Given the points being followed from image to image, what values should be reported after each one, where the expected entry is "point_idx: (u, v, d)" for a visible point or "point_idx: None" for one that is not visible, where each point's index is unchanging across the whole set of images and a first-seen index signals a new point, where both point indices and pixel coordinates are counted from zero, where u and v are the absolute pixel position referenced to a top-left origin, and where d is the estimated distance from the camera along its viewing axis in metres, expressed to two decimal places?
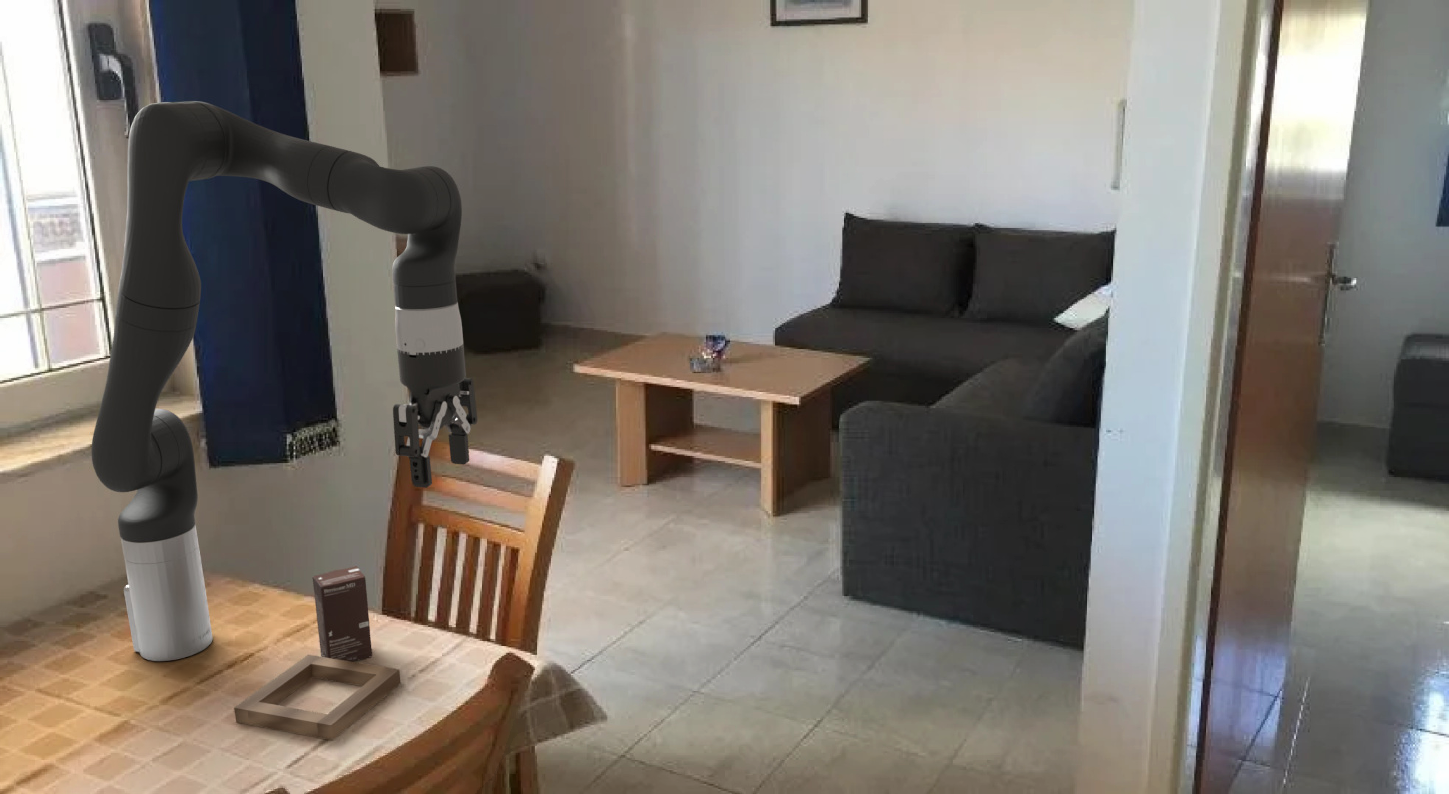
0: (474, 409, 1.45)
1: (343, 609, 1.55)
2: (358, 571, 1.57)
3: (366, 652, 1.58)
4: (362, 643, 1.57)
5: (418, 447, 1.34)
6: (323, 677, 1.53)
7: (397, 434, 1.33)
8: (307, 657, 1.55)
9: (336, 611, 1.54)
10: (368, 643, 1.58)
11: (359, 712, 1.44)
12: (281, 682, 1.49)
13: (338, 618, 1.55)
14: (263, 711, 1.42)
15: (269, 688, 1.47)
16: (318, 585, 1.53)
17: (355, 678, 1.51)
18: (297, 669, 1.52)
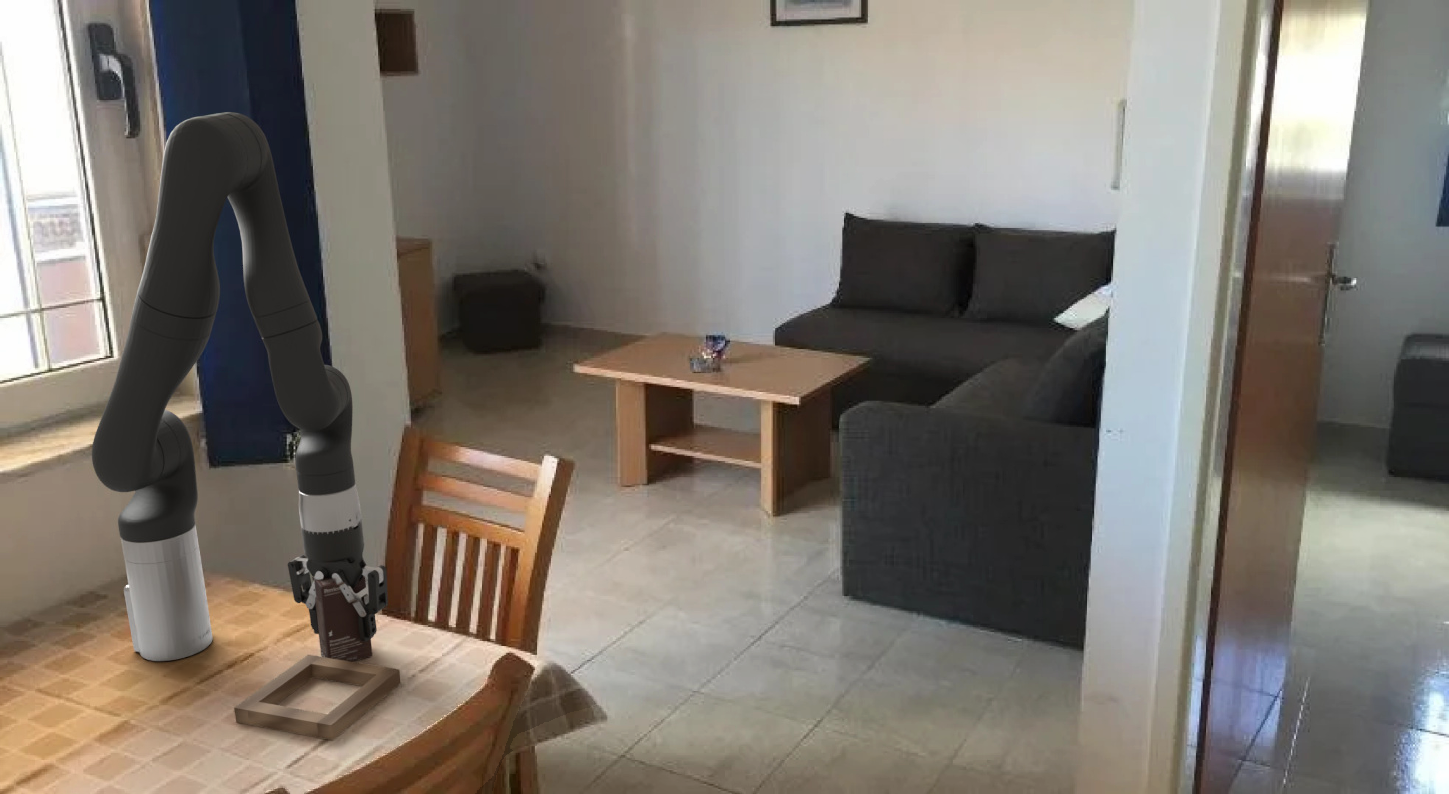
0: None
1: (343, 609, 1.55)
2: None
3: (366, 652, 1.58)
4: (362, 643, 1.57)
5: None
6: (323, 677, 1.53)
7: (378, 595, 1.53)
8: (307, 657, 1.55)
9: (336, 611, 1.54)
10: (368, 642, 1.58)
11: (359, 712, 1.44)
12: (281, 682, 1.49)
13: (338, 618, 1.55)
14: (263, 711, 1.42)
15: (269, 688, 1.47)
16: (318, 585, 1.53)
17: (355, 678, 1.51)
18: (297, 669, 1.52)
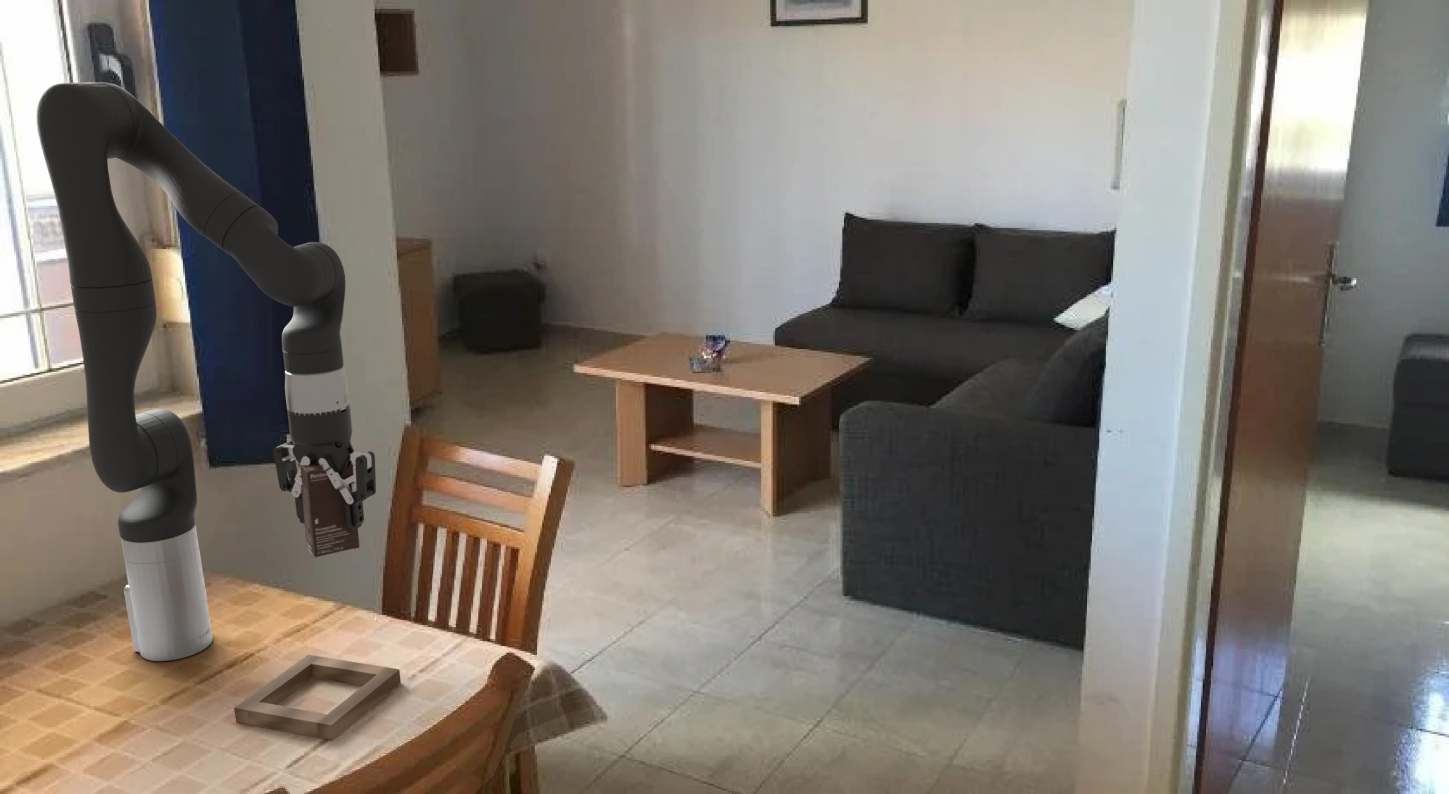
0: None
1: (329, 496, 1.51)
2: None
3: (353, 543, 1.54)
4: (349, 533, 1.53)
5: None
6: (323, 677, 1.53)
7: (366, 481, 1.49)
8: (307, 657, 1.55)
9: (322, 498, 1.50)
10: (355, 533, 1.54)
11: (359, 712, 1.44)
12: (281, 682, 1.49)
13: (324, 505, 1.51)
14: (263, 711, 1.42)
15: (269, 688, 1.47)
16: (304, 470, 1.49)
17: (355, 678, 1.51)
18: (297, 669, 1.52)
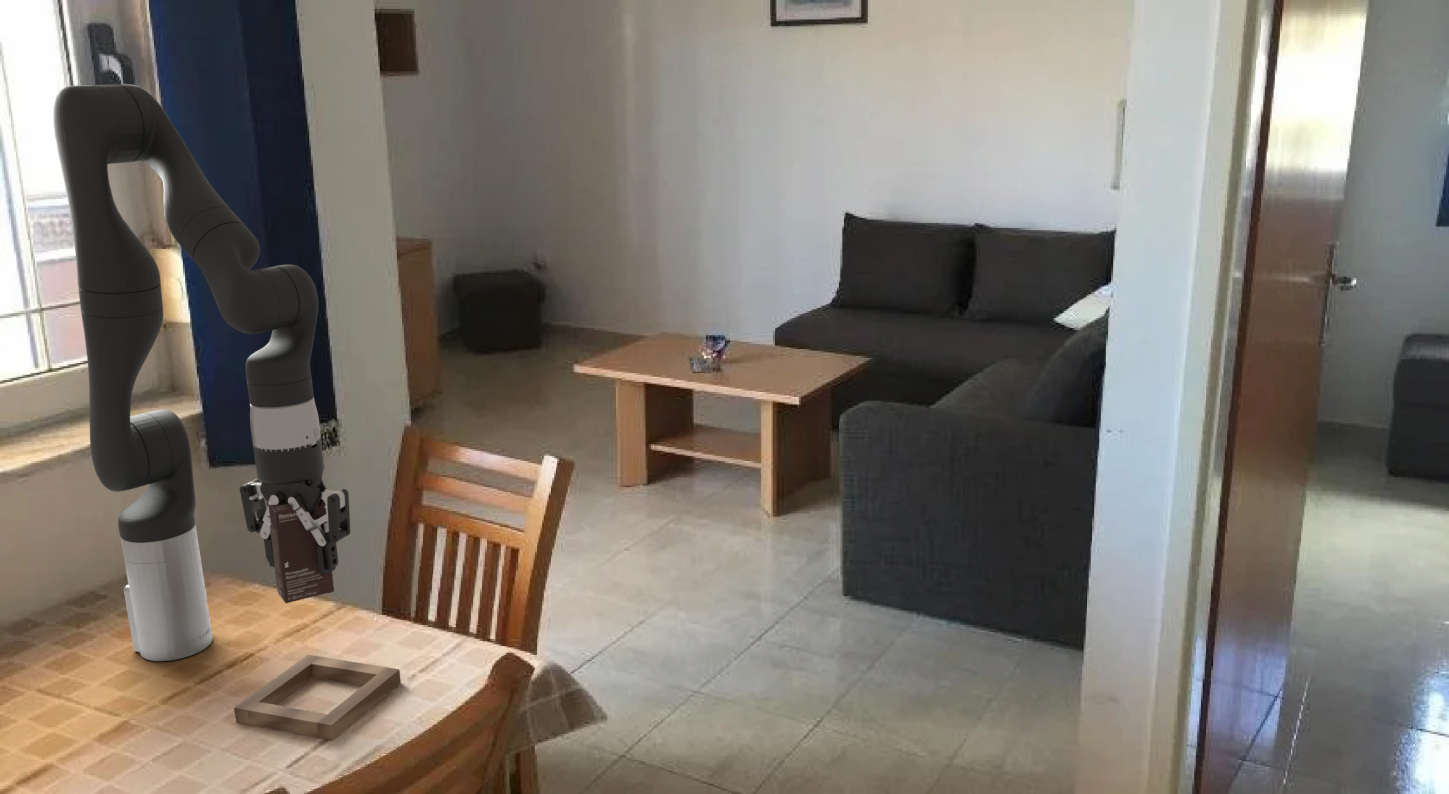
0: None
1: (300, 538, 1.40)
2: None
3: (327, 587, 1.43)
4: (323, 576, 1.42)
5: None
6: (323, 677, 1.53)
7: (339, 522, 1.38)
8: (307, 657, 1.55)
9: (292, 540, 1.39)
10: (329, 576, 1.43)
11: (359, 712, 1.44)
12: (281, 682, 1.49)
13: (295, 547, 1.40)
14: (263, 711, 1.42)
15: (269, 688, 1.47)
16: (272, 510, 1.38)
17: (355, 678, 1.51)
18: (297, 669, 1.52)
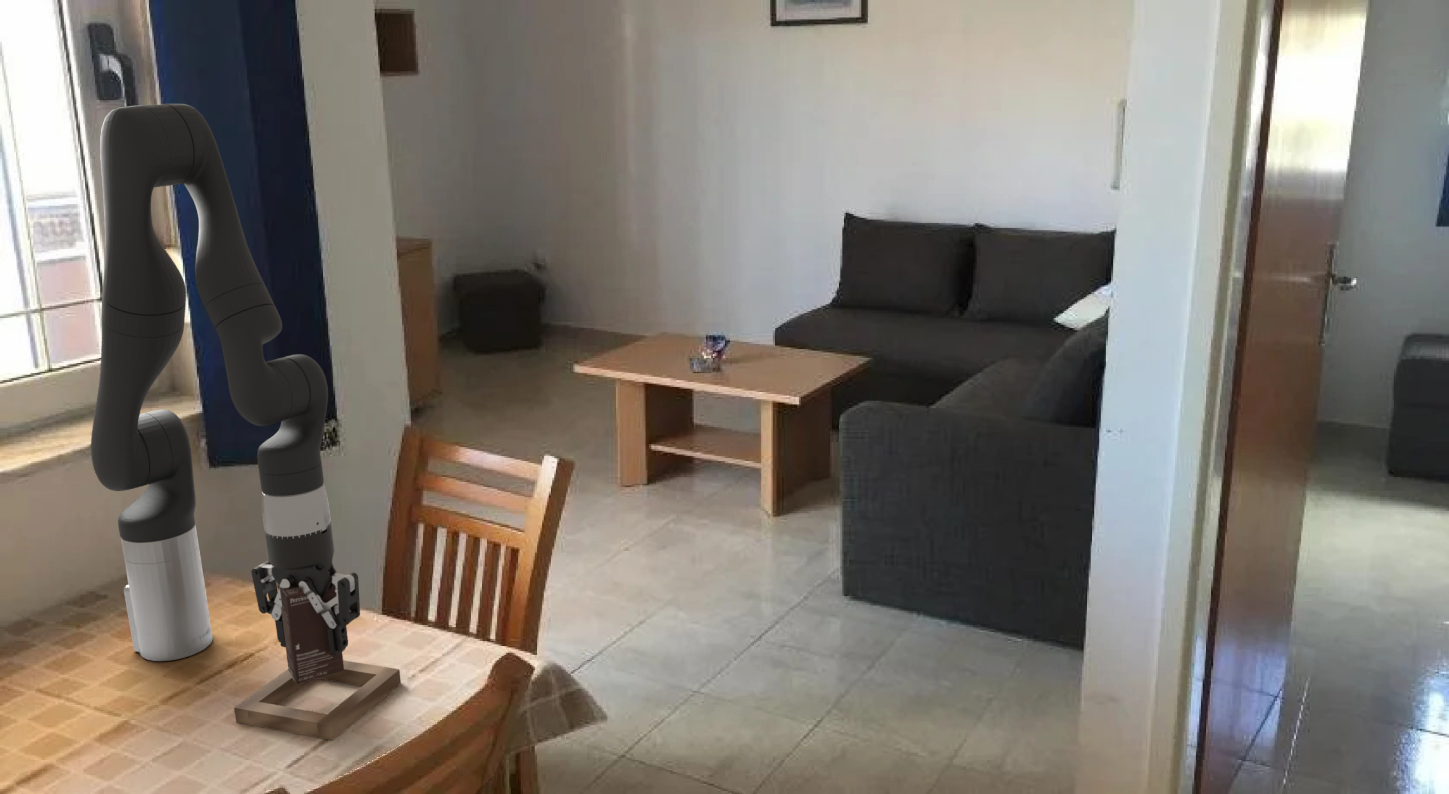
0: None
1: (311, 620, 1.42)
2: None
3: (337, 666, 1.46)
4: (333, 656, 1.45)
5: None
6: (323, 677, 1.53)
7: (349, 605, 1.41)
8: None
9: (303, 622, 1.42)
10: (340, 656, 1.45)
11: (359, 712, 1.44)
12: (281, 682, 1.49)
13: (306, 630, 1.42)
14: (263, 711, 1.42)
15: (269, 688, 1.47)
16: (284, 594, 1.41)
17: (355, 678, 1.51)
18: None
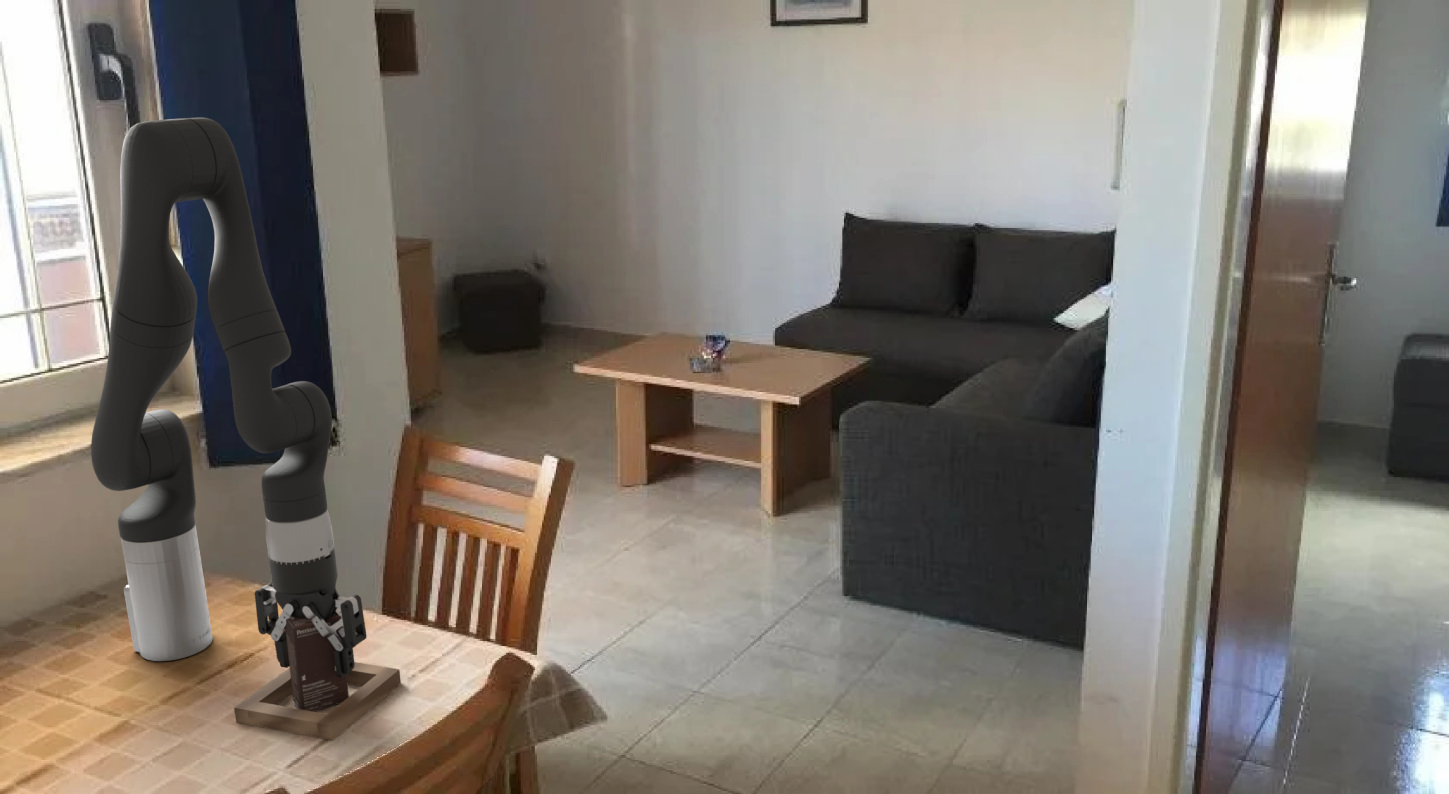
0: (273, 612, 1.48)
1: (317, 651, 1.43)
2: None
3: (342, 696, 1.47)
4: (338, 686, 1.46)
5: None
6: None
7: (354, 627, 1.41)
8: None
9: (309, 653, 1.43)
10: (345, 686, 1.47)
11: (359, 712, 1.44)
12: (281, 682, 1.49)
13: (312, 661, 1.43)
14: (263, 711, 1.42)
15: (269, 688, 1.47)
16: (290, 626, 1.42)
17: (355, 678, 1.51)
18: None
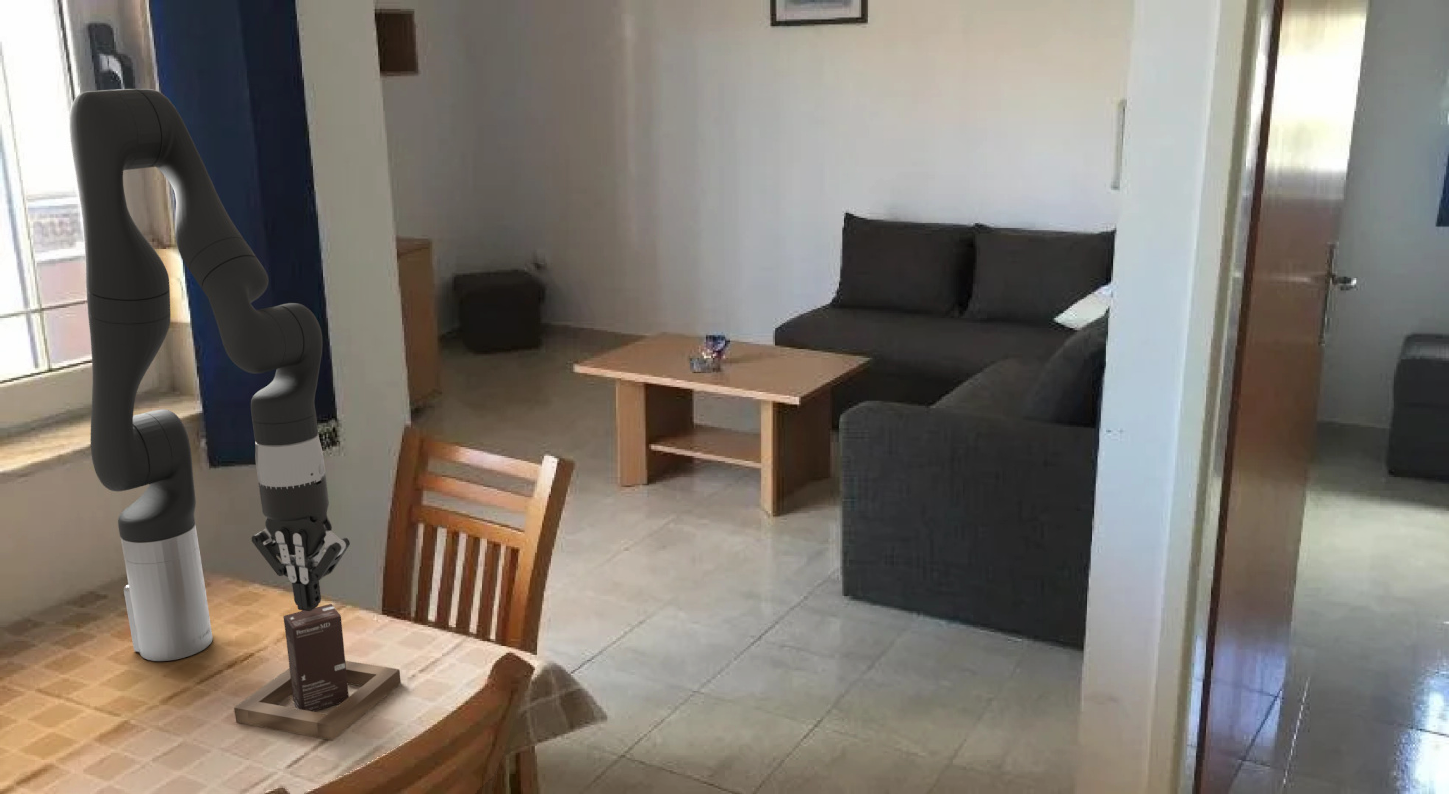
0: None
1: (317, 651, 1.43)
2: (333, 609, 1.46)
3: (342, 696, 1.47)
4: (338, 686, 1.46)
5: None
6: None
7: (328, 567, 1.40)
8: None
9: (309, 654, 1.43)
10: (344, 686, 1.47)
11: (359, 712, 1.44)
12: (281, 682, 1.49)
13: (312, 661, 1.43)
14: (263, 711, 1.42)
15: (269, 688, 1.47)
16: (290, 626, 1.42)
17: (355, 678, 1.51)
18: None
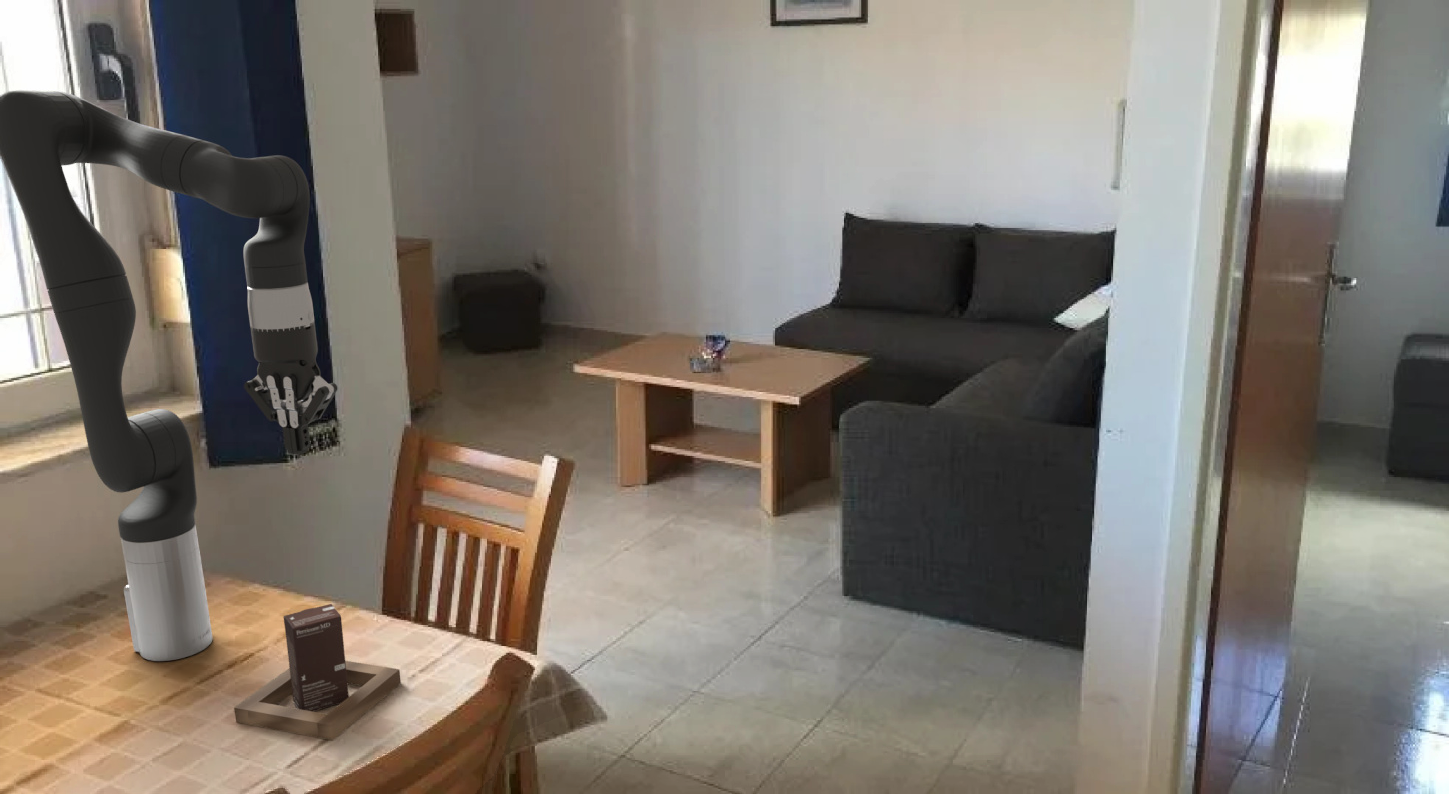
0: None
1: (317, 651, 1.43)
2: (333, 609, 1.46)
3: (342, 696, 1.47)
4: (338, 687, 1.46)
5: None
6: None
7: (317, 410, 1.47)
8: None
9: (309, 654, 1.43)
10: (345, 686, 1.47)
11: (359, 712, 1.44)
12: (281, 682, 1.49)
13: (312, 661, 1.43)
14: (263, 711, 1.42)
15: (269, 688, 1.47)
16: (290, 626, 1.42)
17: (355, 678, 1.51)
18: None
